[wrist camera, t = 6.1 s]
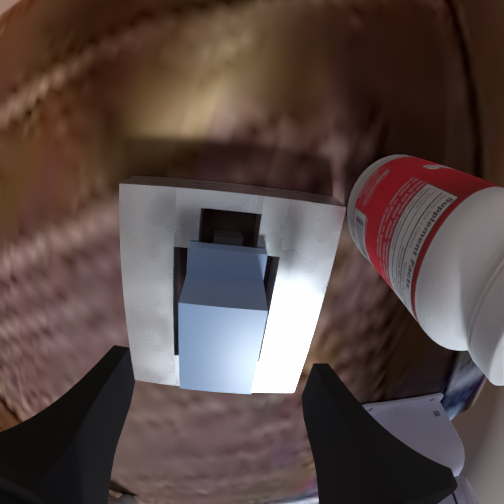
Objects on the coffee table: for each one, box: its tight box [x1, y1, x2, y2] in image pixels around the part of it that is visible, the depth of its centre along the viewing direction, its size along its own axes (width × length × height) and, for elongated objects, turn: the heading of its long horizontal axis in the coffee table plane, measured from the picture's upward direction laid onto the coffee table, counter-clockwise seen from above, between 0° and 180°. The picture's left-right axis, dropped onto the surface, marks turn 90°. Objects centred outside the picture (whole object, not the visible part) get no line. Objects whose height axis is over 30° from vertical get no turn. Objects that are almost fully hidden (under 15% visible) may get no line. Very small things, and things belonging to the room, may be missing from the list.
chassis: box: [119, 175, 346, 393], centre depth 16 cm, size 10×12×2 cm
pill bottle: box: [347, 155, 504, 385], centre depth 10 cm, size 6×6×11 cm
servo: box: [178, 229, 268, 394], centre depth 15 cm, size 8×3×5 cm, turn 172°
